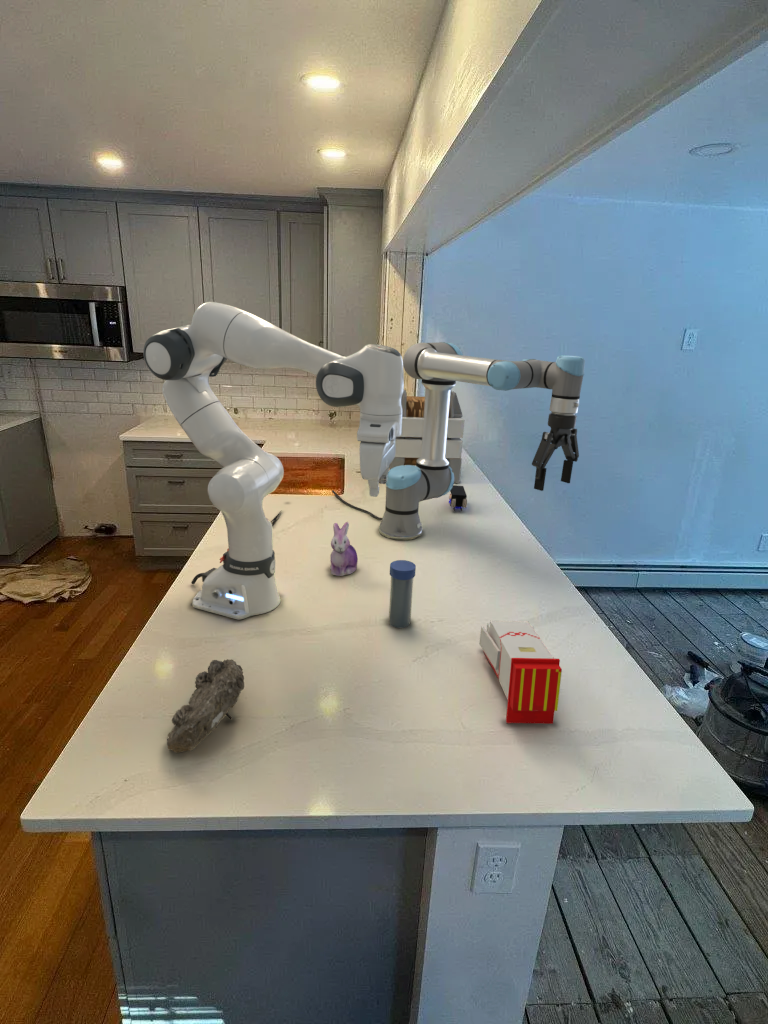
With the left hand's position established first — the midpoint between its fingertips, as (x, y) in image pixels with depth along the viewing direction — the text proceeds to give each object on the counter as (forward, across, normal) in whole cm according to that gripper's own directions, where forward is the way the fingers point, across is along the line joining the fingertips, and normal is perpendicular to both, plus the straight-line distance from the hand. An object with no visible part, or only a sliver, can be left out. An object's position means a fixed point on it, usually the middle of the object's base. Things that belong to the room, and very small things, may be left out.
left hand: (378, 489), depth 123 cm
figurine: (+38, -35, -16) cm, 54 cm away
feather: (+37, -74, -52) cm, 98 cm away
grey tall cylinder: (+38, -9, +5) cm, 39 cm away
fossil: (+38, +34, -24) cm, 56 cm away
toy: (+38, +8, +32) cm, 51 cm away
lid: (+22, -9, +5) cm, 25 cm away
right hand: (+10, -50, +42) cm, 66 cm away
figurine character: (+38, -103, +13) cm, 111 cm away
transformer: (+38, -149, -8) cm, 154 cm away
